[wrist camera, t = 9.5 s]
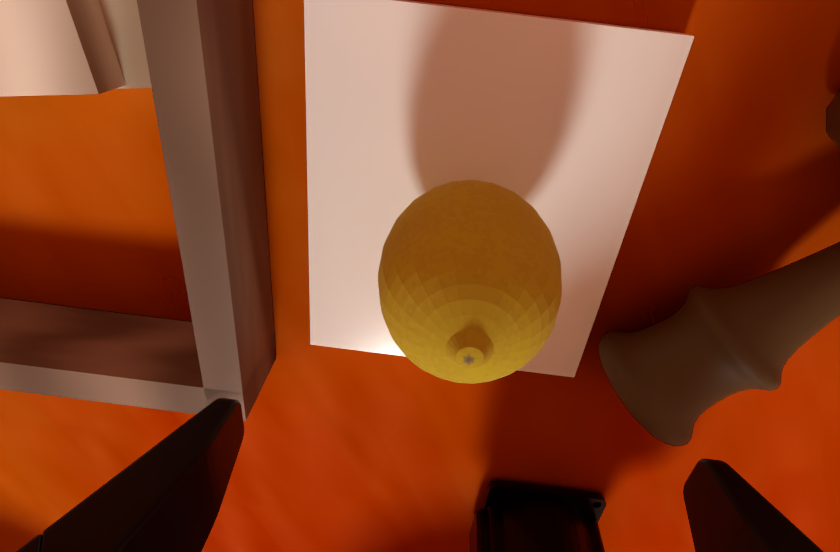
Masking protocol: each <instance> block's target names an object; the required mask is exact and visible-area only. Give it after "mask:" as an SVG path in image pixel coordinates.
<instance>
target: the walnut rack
mask: <svg viewBox="0 0 840 552" xmlns="http://www.w3.org/2000/svg"><path fill="white" fill-rule="evenodd" d="M137 5H138V11H139V17H140V22H141V28H142V34H143V40H144V46H145V51H146V57H147V63H148V69H149V74H150V80H151V86H152V92H153V98H154V103H155V109H156V115H157V121H158V127H159V132H160V138H161V144H162V150H163V155H164V161H165V167H166V173H167V179H168V184H169V190H170V196H171V202H172V207H173V213H174V219H175V225H176V231H177V236H178V242H179V248H180V254H181V260H182V265H183V271H184V277H185V283H186V288H187V294H188V300H189V306H190V312H191V317H192V322H187V321H179V320H171V319H163V318H155V317H147V316H139V315H131V314H123V313H115V312H107V311H99V310H91V309H83V308H75V307H67V306H59V305H51V304H43V303H35V302H27V301H19V300H11V299H3V298H0V389H3V390H11V391H19V392H27V393H35V394H43V395H51V396H58V397H66V398H74V399H82V400H90V401H98V402H106V403H114V404H121V405H129V406H137V407H145V408H153V409H161V410H169V411H177V412H184V413H192V414H197V413H199V412H200V411H201V410H203V409H204V408H205V407H206V406H208V405H209V404H210V403H212V402H213V401H214V400H216V399H218V398H228V399H236V400H239V401H240V403H241V407H242V415H243V420H246V419H247V417H248V415H249V413H250V411H251V409H252V407H253V405H254V403H255V400H256V398H257V396H258V394H259V392H260V390H261V388H262V386H263V384H264V382H265V380H266V378H267V376H268V374H269V372H270V370H271V368H272V365H273V363H274V361H275V359H276V350H275V335H274V320H273V305H272V290H271V275H270V260H269V245H268V230H267V215H266V200H265V184H264V169H263V154H262V139H261V124H260V109H259V94H258V79H257V64H256V49H255V34H254V19H253V4H252V0H137Z"/></svg>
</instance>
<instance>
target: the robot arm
mask: <svg viewBox="0 0 840 552" xmlns="http://www.w3.org/2000/svg"><path fill="white" fill-rule="evenodd" d="M243 436H244V423H243V415H242V407H241V403H240V401H239V400H236V399H228V398H218V399H216V400H214V401H213V402H212V403H210V404H209V405H208V406H206V407H205V408H204V409H203V410H201V411H200V412H199V413H197V414H196V415H195V416H193V417H192V418H191V419H189V420H188V421H187V422H186V423H184V424H183V425H182V426H180V427H179V428H178V429H176V430H175V431H174V432H172V433H171V434H170V435H169V436H167V437H166V438H165V439H163V440H162V441H161V442H159V443H158V444H157V445H155V446H154V447H153V448H152V449H150V450H149V451H148V452H146V453H145V454H144V455H142V456H141V457H140V458H138V459H137V460H136V461H134V462H133V463H132V464H131V465H129V466H128V467H127V468H125V469H124V470H123V471H121V472H120V473H119V474H117V475H116V476H115V477H114V478H112V479H111V480H110V481H108V482H107V483H106V484H104V485H103V486H102V487H100V488H99V489H98V490H97V491H95V492H94V493H93V494H91V495H90V496H89V497H87V498H86V499H85V500H83V501H82V502H81V503H80V504H78V505H77V506H76V507H74V508H73V509H72V510H70V511H69V512H68V513H66V514H65V515H64V516H63V517H61V518H60V519H59V520H57V521H56V522H55V523H53V524H52V525H51V526H49V527H48V528H47V529H45V530H44V532H43V535H37V536H36V537H35V538H33V539H32V540H31V541H30V542H28V543H27V544H26V545H24V546H23V547H22V548H20V549H19V550H18V551H16V552H201V551H202V549H203V547H204V545H205V542H206V540H207V538H208V536H209V534H210V531H211V529H212V527H213V525H214V522H215V520H216V517H217V515H218V512H219V509H220V506H221V504H222V501H223V498H224V495H225V492H226V489H227V486H228V483H229V479H230V476H231V473H232V470H233V467H234V464H235V461H236V458H237V455H238V452H239V449H240V446H241V443H242V440H243ZM683 494H684V501H685V505H686V510H687V514H688V519H689V524H690V528H691V533H692V538H693V542H694V547H695V551H696V552H823V551H822V550H821V549H820V548H819V547H818V546H817V545H815V544H814V543H813V542H812V541H811V540H810V539H809V538H808V537H807V536H806V535H805V534H803V533H802V532H801V531H800V530H799V529H798V528H797V527H796V526H795V525H794V524H793V523H791V522H790V521H789V520H788V519H787V518H786V517H785V516H784V515H783V514H782V513H781V512H779V511H778V510H777V509H776V508H775V507H774V506H773V505H772V504H771V503H770V502H769V501H767V500H766V499H765V498H764V497H763V496H762V495H761V494H760V493H759V492H758V491H757V490H755V489H754V488H753V487H752V486H751V485H750V484H749V483H748V482H747V481H746V480H745V479H743V478H742V477H741V476H740V475H739V474H738V473H737V472H736V471H735V470H734V469H732V468H731V467H730V466H729V465H728V464H727V463H725V462H723V461H719V460H712V459H701V460H700V461H698V463H697V464H696V466H695V468H694V469H693V471H692V473H691V474H690V476H689V477H688V479H687V481H686V482H685V485H684V490H683ZM605 507H606V502H605V498H604V496H603V495H602V494H600V493H594V492H586V491H578V490H571V489H563V488H555V487H547V486H539V485H531V484H524V483H516V482H508V481H500V480H495V481H492V482H490V483H489V485H488V489H487V493H486V496H485V500H484V504H483V507H482V508H479V509H478V510H477V511H476V513H475V517H474V520H473V524H472V528H471V532H470V552H605V551H604V547H603V543H602V539H601V535H600V531H599V527H598V521H599V519H600V517H601V515H602V513H603V511H604V509H605Z"/></svg>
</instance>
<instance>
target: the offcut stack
mask: <svg viewBox="0 0 840 552" xmlns="http://www.w3.org/2000/svg"><path fill="white" fill-rule="evenodd" d="M120 88H152V86H151V80H150V74H149V69H148V63H147V57H146V51H145V46H144V40H143V34H142V28H141V22H140V17H139V11H138V5H137V0H0V96H37V95H77V94H100V93H103V92H106V91H109V90H113V89H120Z"/></svg>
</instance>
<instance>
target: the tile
mask: <svg viewBox="0 0 840 552" xmlns="http://www.w3.org/2000/svg"><path fill="white" fill-rule="evenodd" d="M304 27H305V80H306V133H307V186H308V239H309V292H310V344H311V345H319V346H327V347H335V348H343V349H351V350H358V351H366V352H374V353H382V354H390V355H398V356H405V355H404V354H403V352H402V351H401V350H400V348H399V347H398V346H397V344H396V343H395V342H394V341H393V339H392V337H391V335H390V332H389V330H388V328H387V325H386V323H385V320H384V318H383V315H382V311H381V306H380V297H379V287H378V271H379V266H380V260H381V255H382V250H383V246H384V243H385V241H386V239H387V237H388V235H389V233H390V231H391V229H392V227H393V225H394V223H395V221H396V219H397V218H398V217H399V216H400V214H401V213H402V212H403V211H404V210H405V209H406V208H407V207H408V206H409V205H410V204H411V203H412V202H413V200H415V199H416V198H418V197H419V196H421V195H423V194H424V193H426V192H427V191H429V190H431V189H432V188H434V187H437V186H440V185H443V184H446V183H449V182H452V181H464V180H478V181H484V182H490V183H495V184H497V185H499V186H502V187H504V188H506V189H509V190H511V191H513V192H515V193H516V194H517V195H519V196H520V197H521V198H522V199H524V200H525V201H526V202H528V203H529V204H530V205H531V206H532V207H533V208H534V209H535V210H536V211H537V213H538V214H539V216H540V217H541V218H542V220H543V221H544V222H545V224H546V225H547V227H548V228H549V230H550V232H551V234H552V237H553V240H554V243H555V245H556V248H557V251H558V254H559V257H560V262H561V279H562V296H561V303H560V307H559V310H558V314H557V318H556V321H555V325H554V328H553V330H552V332H551V334H550V336H549V337H548V339H547V341H546V342H545V344H544V346H543V347H542V349H541V350H540V351H539V352H538V353H537V354H536V355H535V356H534V357H533V358H532V359H531V360H530V361H529V362H528V363H527V364H526V365H525V366H523V367H522V368H520V369H518V371H526V372H534V373H542V374H550V375H558V376H566V377H575V374H576V371H577V369H578V366H579V363H580V360H581V357H582V354H583V351H584V349H585V346H586V343H587V340H588V337H589V334H590V332H591V329H592V326H593V323H594V320H595V317H596V315H597V312H598V309H599V306H600V303H601V300H602V298H603V295H604V292H605V289H606V286H607V283H608V281H609V278H610V275H611V272H612V269H613V266H614V263H615V261H616V258H617V255H618V252H619V249H620V246H621V244H622V241H623V238H624V235H625V232H626V229H627V227H628V224H629V221H630V218H631V215H632V212H633V210H634V207H635V204H636V201H637V198H638V195H639V193H640V190H641V187H642V184H643V181H644V178H645V176H646V173H647V170H648V167H649V164H650V161H651V158H652V156H653V153H654V150H655V147H656V144H657V141H658V139H659V136H660V133H661V130H662V127H663V124H664V122H665V119H666V116H667V113H668V110H669V107H670V105H671V102H672V99H673V96H674V93H675V90H676V88H677V85H678V82H679V79H680V76H681V73H682V71H683V68H684V65H685V62H686V59H687V56H688V53H689V51H690V48H691V45H692V42H693V39H694V36H692V35H689V34H685V33H679V32H671V31H662V30H654V29H646V28H637V27H629V26H620V25H612V24H603V23H595V22H587V21H578V20H570V19H561V18H553V17H544V16H536V15H527V14H519V13H511V12H502V11H494V10H485V9H477V8H468V7H460V6H451V5H443V4H435V3H426V2H418V1H409V0H304Z"/></svg>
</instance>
